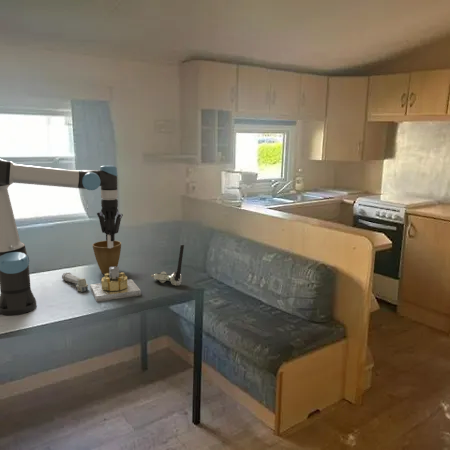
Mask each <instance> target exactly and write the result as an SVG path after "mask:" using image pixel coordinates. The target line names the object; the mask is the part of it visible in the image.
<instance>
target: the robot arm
mask: <svg viewBox="0 0 450 450" xmlns="http://www.w3.org/2000/svg"><path fill="white" fill-rule="evenodd" d="M14 183H15V184H23V185H37V186H49V187H59V188H60V187H61V188H69V189H70V188H72V189H79V190H81V189H82V190H88V191H95V190H97V189H98V188H99V187H100V193H101V194H100V198H101V201H100V204H101V210H100V211H99V212H96V215H97V217H98V221H99V225H100V228H101V233H102V234H103V233H104V234H105V241H107V245H108V248H113V241H116V240H115V237H116V236H115V235H116V234H118V233H119V231H120V225H121V221H122V218H123V216H124V215H123V213H120V212H119V209H118V207H119V201H118V198H119V197H118V195H119V194H118V168H117V166H115V165H101V166H100V169H77V170H74V169H64V168H55V167H54V168H53V167H46V166H45V167H44V166H36V165H28V164H27V165H26V164H17V163H14V162H13V161H11V160H5V159H3V158H1V157H0V315H2V316H3V315H4V316H17V315H23V314H27V313H30V312H32V311H34V310H35V309H36V308H37V306H38V305H37V300H36V298H35V296H34V294H33V292H32V288H31V277H30V275H31V274H30V257H29V255H28V252H27V249H26V245H25V243H23V242H22V241H21V240H20V236H19V232H18V226H17V222H16V218H15V214H14V212H13V211H14V210H13V206H12V202H11V198H10V194H9V190H8V188H9V187H10V185H12V184H14Z"/></svg>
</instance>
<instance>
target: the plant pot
mask: <svg viewBox="0 0 450 450" xmlns="http://www.w3.org/2000/svg"><path fill="white" fill-rule="evenodd" d="M92 248H93V252H94V253H93V254H94V256H95V260H96V263H97V266H98V268H99V270H100V272H101V274H102V275H104V274H107V273H109V268H110V267H114V266H116V267H119V262H120V258H121V250H122V242H121V241H120V240H114V241H113V248H108V245H107V241H106V240H101V241H96V242H94V243H92Z"/></svg>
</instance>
